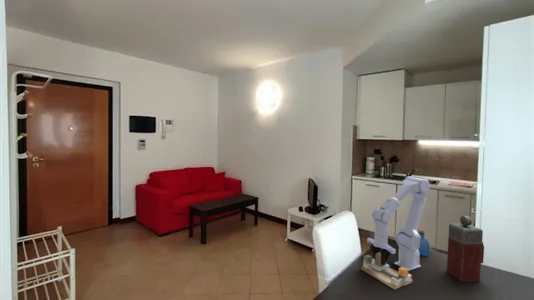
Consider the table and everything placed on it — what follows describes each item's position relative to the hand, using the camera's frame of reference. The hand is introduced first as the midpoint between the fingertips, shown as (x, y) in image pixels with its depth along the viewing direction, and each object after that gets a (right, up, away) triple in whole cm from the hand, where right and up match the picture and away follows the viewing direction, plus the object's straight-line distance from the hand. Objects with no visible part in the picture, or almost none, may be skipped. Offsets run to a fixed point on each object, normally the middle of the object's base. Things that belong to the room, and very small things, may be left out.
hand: (380, 262), depth 124 cm
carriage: (0, -2, 0) cm, 2 cm away
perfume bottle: (+31, -4, +21) cm, 38 cm away
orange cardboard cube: (+6, -1, -10) cm, 11 cm away
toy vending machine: (+38, -5, -2) cm, 39 cm away
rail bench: (+2, -5, -3) cm, 6 cm away
